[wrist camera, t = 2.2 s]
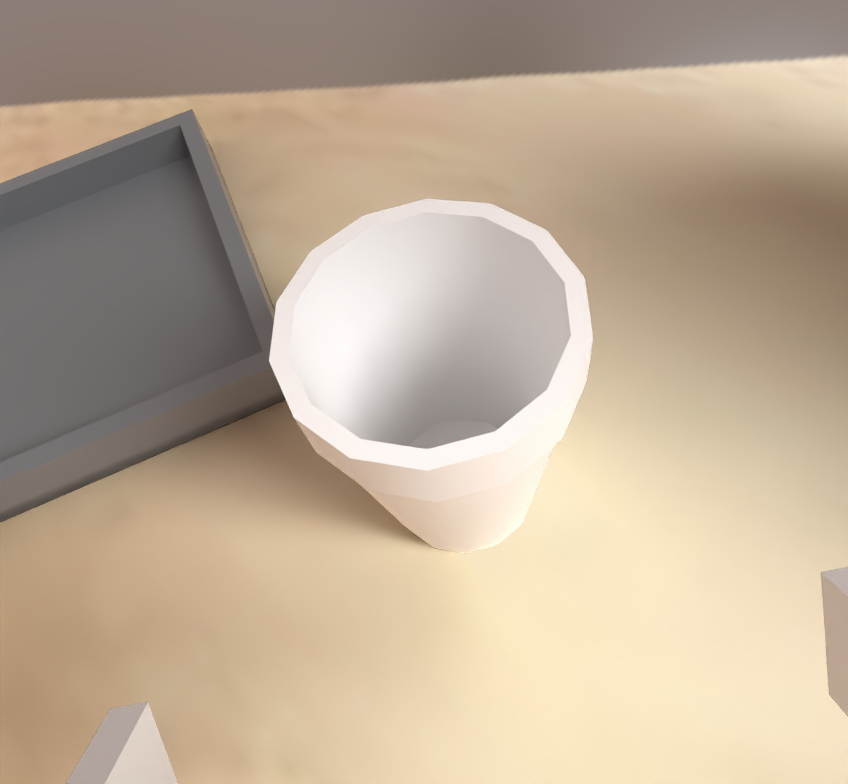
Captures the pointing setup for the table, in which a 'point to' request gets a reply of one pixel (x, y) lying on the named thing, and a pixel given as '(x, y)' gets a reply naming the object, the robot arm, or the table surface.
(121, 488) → the table surface
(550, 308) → the foam cup
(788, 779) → the table surface
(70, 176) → the tray
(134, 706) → the robot arm
